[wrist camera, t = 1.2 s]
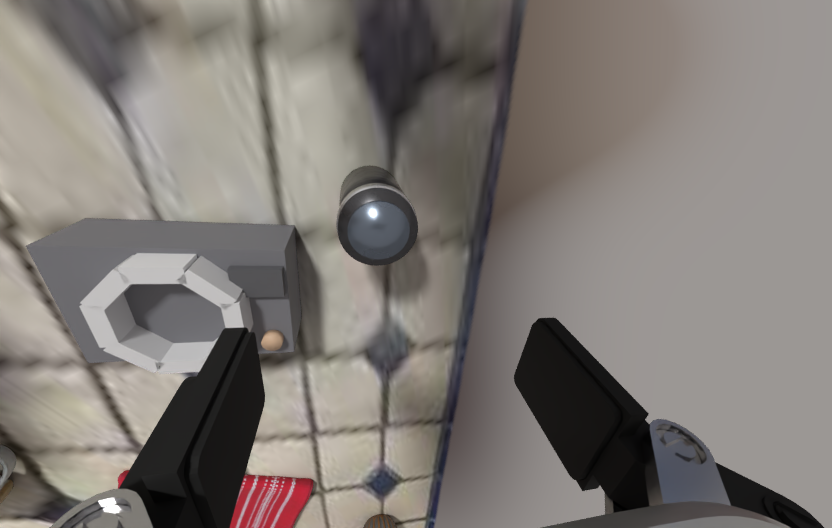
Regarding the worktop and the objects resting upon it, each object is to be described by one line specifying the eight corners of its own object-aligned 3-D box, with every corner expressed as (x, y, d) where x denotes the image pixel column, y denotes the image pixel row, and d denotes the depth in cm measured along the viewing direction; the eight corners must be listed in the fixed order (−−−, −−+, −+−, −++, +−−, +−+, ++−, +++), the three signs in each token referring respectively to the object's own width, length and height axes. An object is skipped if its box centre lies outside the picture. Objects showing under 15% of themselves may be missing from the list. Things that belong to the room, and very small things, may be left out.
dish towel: (284, 530, 52) (281, 550, 49) (112, 532, 43) (99, 557, 40) (318, 473, 46) (316, 493, 43) (126, 462, 37) (111, 486, 34)
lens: (339, 161, 25) (335, 187, 18) (403, 167, 26) (425, 193, 19) (339, 223, 27) (336, 268, 20) (398, 226, 28) (415, 268, 21)
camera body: (85, 218, 23) (-7, 260, 17) (294, 225, 26) (278, 263, 20) (128, 321, 28) (67, 383, 22) (301, 316, 31) (290, 369, 25)
